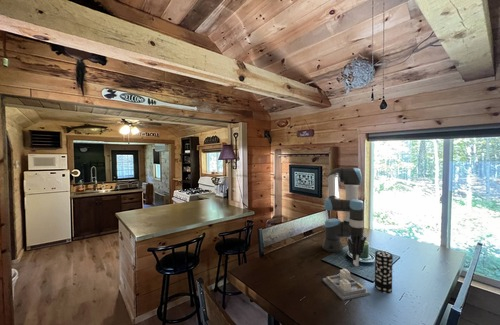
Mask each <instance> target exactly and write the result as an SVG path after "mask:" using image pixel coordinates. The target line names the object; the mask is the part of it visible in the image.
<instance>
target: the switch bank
mask: <svg viewBox="0 0 500 325" xmlns="http://www.w3.org/2000/svg"><path fill="white" fill-rule="evenodd" d="M340 280H342V279H341V278H340V273H339V274H335V275H328V276H326V277H324V278H322V281H323V282H324V284H326V285H327V286H328V287H329V288H330V289H331V290H332V291H333V293H334V294H336V295H337V296H338V297H339V299H340V300H342V301H346V300H350V299H355V298H359V297H364V296H369V295H371V292H370V291H369V290H367V288H365V287H364V285H362V284H361V283H359V282H358V281H356V280H355V279H354V278H353V277H351V276H350V279H348V281H349V282H350V283H351V291H346V292H344V291H343V290H342V289H341V288H340Z"/></svg>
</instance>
